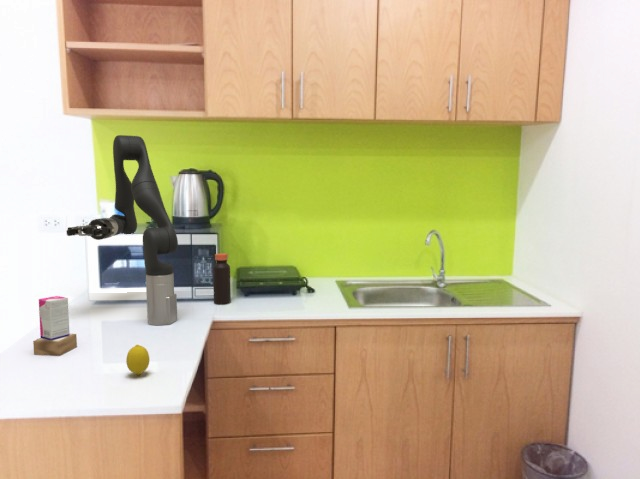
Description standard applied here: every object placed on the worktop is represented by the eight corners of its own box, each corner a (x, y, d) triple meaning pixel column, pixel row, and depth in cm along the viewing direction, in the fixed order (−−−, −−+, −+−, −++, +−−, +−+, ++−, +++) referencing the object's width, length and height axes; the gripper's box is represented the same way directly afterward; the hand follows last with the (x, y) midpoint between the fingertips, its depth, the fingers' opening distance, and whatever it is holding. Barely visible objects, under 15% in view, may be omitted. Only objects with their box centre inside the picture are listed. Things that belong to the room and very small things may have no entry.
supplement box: (70, 335, 149) (68, 297, 147) (51, 341, 144) (48, 301, 142) (59, 332, 152) (57, 295, 150) (39, 337, 147) (37, 298, 145)
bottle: (224, 300, 211) (223, 252, 208) (234, 302, 206) (233, 254, 204) (210, 302, 206) (209, 254, 204) (219, 305, 201) (218, 256, 199)
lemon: (130, 371, 132) (129, 341, 131) (152, 370, 133) (151, 341, 132) (124, 379, 127) (122, 348, 126) (146, 378, 127) (145, 348, 126)
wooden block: (77, 346, 151) (76, 333, 151) (59, 356, 143) (58, 341, 143) (52, 345, 152) (51, 332, 152) (34, 354, 145) (33, 340, 144)
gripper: (84, 218, 186) (59, 221, 170) (121, 218, 185) (100, 221, 169) (85, 238, 187) (60, 243, 171) (122, 238, 186) (101, 244, 170)
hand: (80, 232), depth 170 cm, fingers open, 8 cm apart
